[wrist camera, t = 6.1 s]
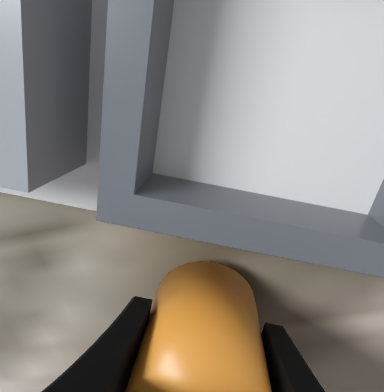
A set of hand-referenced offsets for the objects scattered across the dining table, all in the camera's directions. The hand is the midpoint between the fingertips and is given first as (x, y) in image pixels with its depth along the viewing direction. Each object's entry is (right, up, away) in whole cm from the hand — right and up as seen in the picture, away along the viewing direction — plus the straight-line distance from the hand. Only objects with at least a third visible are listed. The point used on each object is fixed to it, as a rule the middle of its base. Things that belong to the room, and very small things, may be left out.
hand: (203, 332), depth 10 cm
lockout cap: (0, 0, +1) cm, 1 cm away
